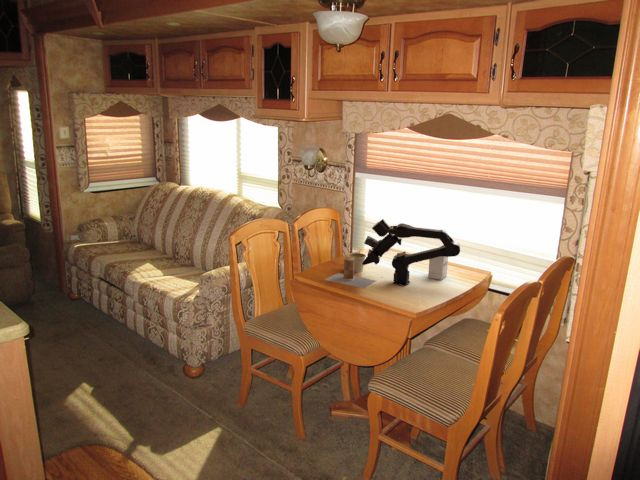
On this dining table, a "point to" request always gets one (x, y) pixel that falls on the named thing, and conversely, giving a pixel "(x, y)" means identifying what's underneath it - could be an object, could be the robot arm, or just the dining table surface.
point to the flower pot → (357, 261)
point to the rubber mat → (355, 282)
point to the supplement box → (438, 267)
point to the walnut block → (349, 268)
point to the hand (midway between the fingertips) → (362, 264)
